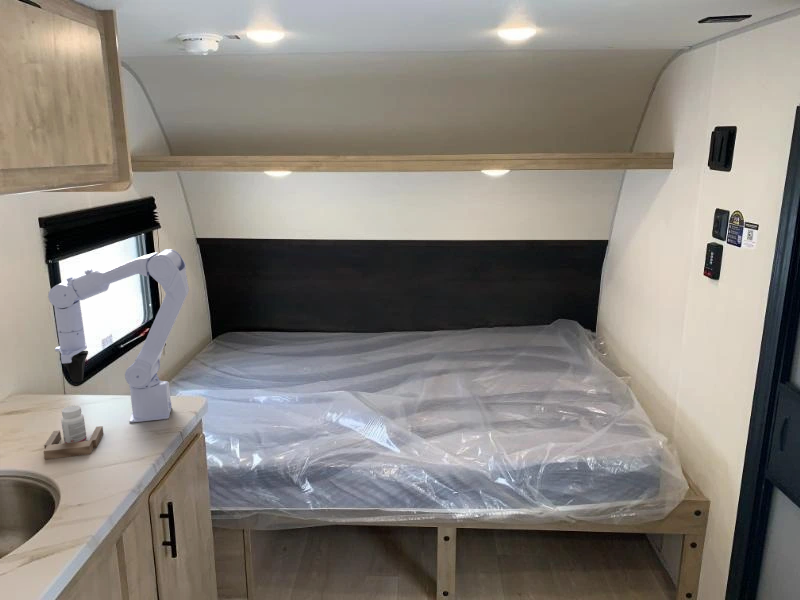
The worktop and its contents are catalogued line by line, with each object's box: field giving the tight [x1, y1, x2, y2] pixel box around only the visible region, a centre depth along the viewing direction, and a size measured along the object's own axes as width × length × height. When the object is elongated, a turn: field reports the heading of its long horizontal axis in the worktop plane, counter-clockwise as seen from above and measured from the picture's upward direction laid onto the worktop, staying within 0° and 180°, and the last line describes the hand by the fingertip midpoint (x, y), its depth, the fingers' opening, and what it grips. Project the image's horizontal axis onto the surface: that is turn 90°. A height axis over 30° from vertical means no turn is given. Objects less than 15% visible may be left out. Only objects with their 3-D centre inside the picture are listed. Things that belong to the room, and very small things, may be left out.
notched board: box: [43, 425, 104, 460], centre depth 143 cm, size 11×10×2 cm
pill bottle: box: [60, 405, 88, 443], centre depth 145 cm, size 5×5×8 cm
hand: (77, 381), depth 155 cm, fingers closed
